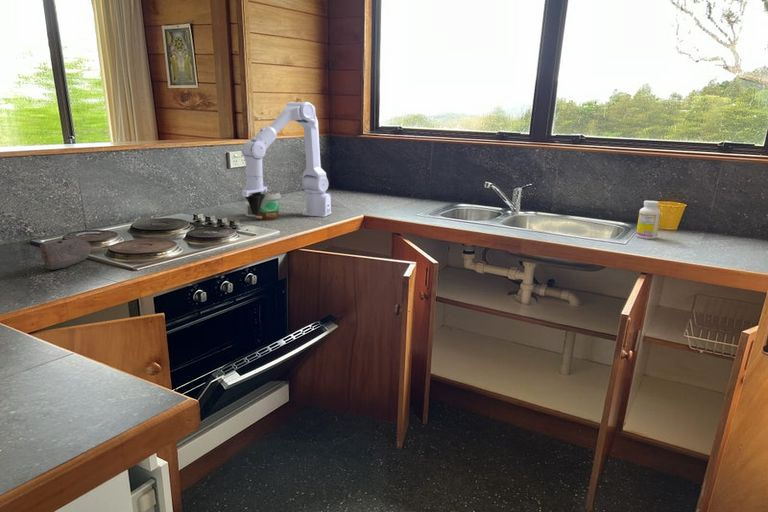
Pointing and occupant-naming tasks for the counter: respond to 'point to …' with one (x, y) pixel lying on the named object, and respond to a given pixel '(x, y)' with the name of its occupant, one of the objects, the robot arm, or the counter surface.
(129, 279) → the counter surface
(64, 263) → the perforated stone tool
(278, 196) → the food container
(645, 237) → the supplement bottle
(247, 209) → the letter cube
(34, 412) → the counter surface
